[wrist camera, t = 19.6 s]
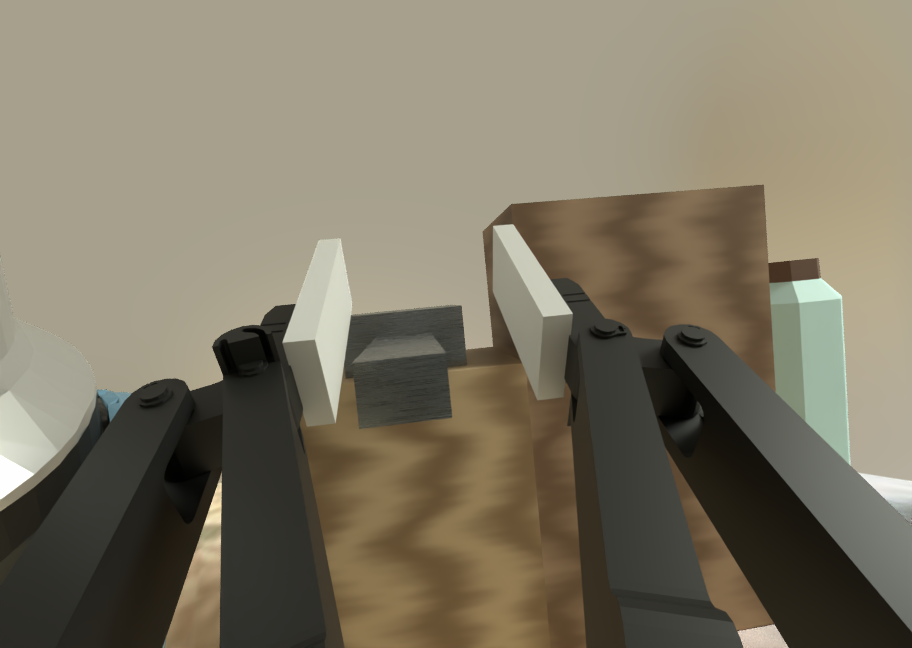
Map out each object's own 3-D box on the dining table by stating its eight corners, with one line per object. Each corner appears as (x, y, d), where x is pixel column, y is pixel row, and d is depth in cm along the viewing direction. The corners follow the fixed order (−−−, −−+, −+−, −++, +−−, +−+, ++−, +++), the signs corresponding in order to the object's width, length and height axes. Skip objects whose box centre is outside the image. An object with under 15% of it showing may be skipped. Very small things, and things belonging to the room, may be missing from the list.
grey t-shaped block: (297, 436, 17) (284, 328, 17) (358, 362, 38) (353, 314, 37) (510, 410, 18) (500, 307, 17) (454, 352, 38) (450, 305, 38)
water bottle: (712, 507, 48) (696, 270, 47) (769, 482, 53) (756, 265, 51) (822, 550, 39) (806, 258, 38) (879, 516, 44) (867, 253, 42)
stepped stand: (319, 705, 29) (262, 223, 27) (344, 594, 40) (304, 246, 38) (789, 621, 32) (763, 184, 30) (691, 539, 43) (669, 216, 41)
